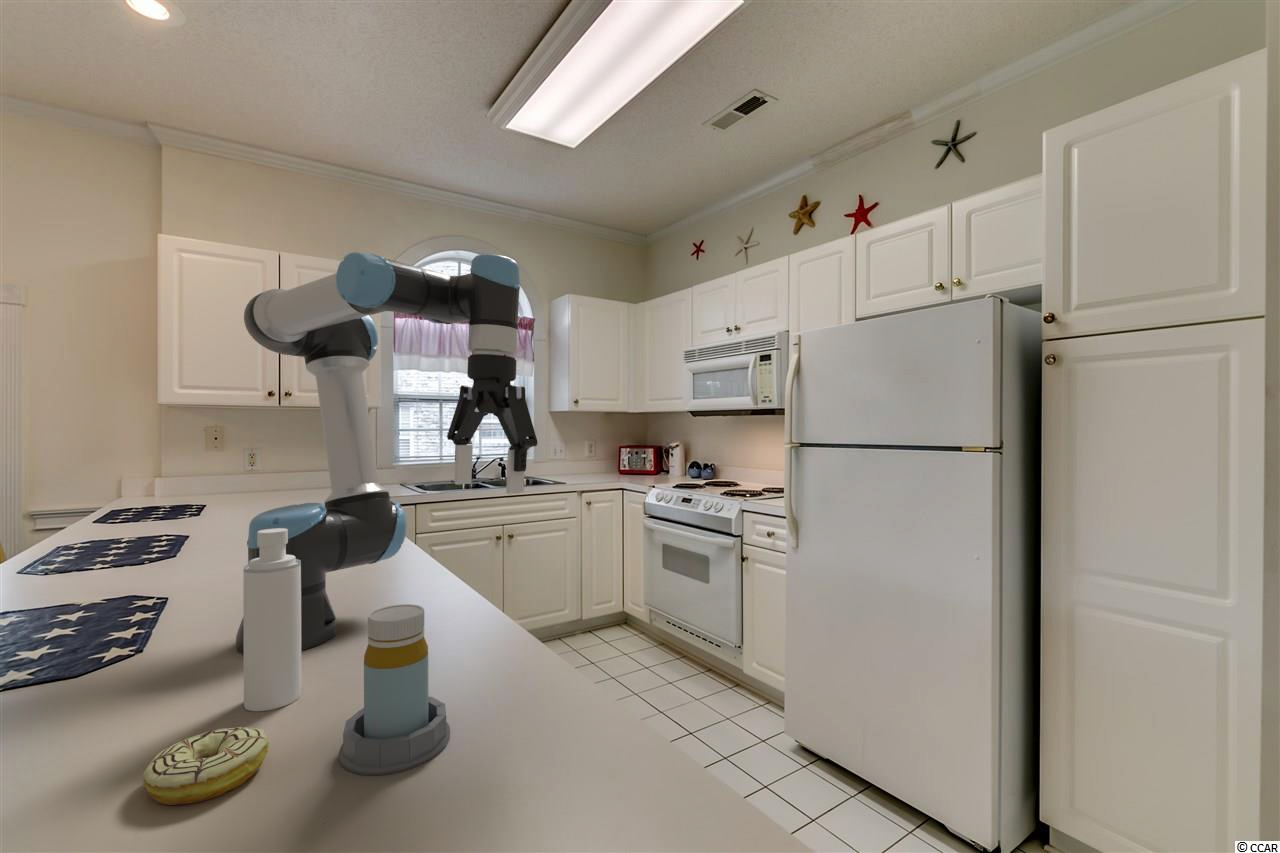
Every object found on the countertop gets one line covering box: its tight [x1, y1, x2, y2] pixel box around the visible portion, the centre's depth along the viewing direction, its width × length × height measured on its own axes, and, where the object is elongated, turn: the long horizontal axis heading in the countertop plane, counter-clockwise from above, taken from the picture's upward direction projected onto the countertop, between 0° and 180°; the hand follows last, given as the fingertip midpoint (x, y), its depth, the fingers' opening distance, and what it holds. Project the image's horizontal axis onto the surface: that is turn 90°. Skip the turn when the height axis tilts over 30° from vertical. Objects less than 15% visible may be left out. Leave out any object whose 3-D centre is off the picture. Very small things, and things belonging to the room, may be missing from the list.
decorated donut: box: [142, 726, 270, 806], centre depth 61 cm, size 10×11×4 cm
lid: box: [339, 696, 451, 776], centre depth 67 cm, size 12×12×3 cm
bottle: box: [363, 603, 429, 740], centre depth 67 cm, size 7×7×15 cm
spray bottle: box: [242, 528, 302, 712], centre depth 78 cm, size 7×7×25 cm
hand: (487, 488), depth 91 cm, fingers open, 13 cm apart
